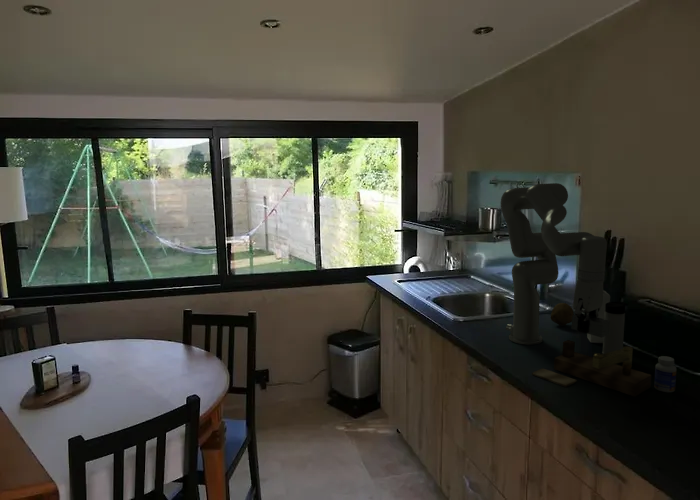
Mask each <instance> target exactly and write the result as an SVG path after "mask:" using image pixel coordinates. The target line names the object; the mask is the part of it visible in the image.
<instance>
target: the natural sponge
mask: <svg viewBox="0 0 700 500" xmlns="http://www.w3.org/2000/svg"><path fill="white" fill-rule="evenodd" d="M574 312H575V311H574V309H573V307H572V306H570V304H568V303H566V302H559V303H557V304H555V306H554V307H553V308H552V311H551V314H550V319H551V321H552V322H553V323H555V324H557V325H558V326H561V327H564V326H566V325H567V324H569V323H570V324H571V323H572V316H573V315H575V313H574Z"/></svg>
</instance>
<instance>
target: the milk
mask: <svg viewBox="0 0 700 500" xmlns="http://www.w3.org/2000/svg"><path fill="white" fill-rule="evenodd" d="M609 302H611V295H610V294H609V293H608V292H607V291H606V290H604V289H603V303H602V306H601V307H600V310H599V312H598V318H601V319H604V317H605V305H606V303H609ZM586 335H587V336H586V337H587V340H588V341H589V342H590V343H591V344H592V343H594V344H603V337H602V338H601V337H598V336H594V335H591V334H588V333H586Z"/></svg>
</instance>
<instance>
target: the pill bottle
mask: <svg viewBox="0 0 700 500" xmlns="http://www.w3.org/2000/svg"><path fill="white" fill-rule="evenodd" d="M657 361H658V362H657V363H656V364H655V370H654V385H653V386H654V388H655V390H658V391H659V392H662V393H673V392H675V391H676V383H677V382H676V381H677V372H678V371H677V369H678V368H677V367H676V366H675V359H674V357H670V356H666V355H665V356H664V355H661V356H659V357H658V360H657Z"/></svg>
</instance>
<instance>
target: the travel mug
mask: <svg viewBox="0 0 700 500" xmlns="http://www.w3.org/2000/svg"><path fill="white" fill-rule="evenodd" d="M627 305H628V304H627V303H626V302H625V301H610V302H609V303H606V305H605V317H604V319H605V320H609V321H610V329H609V335H606V336H604V337H603V343H602V352H601V354H605V353H609V352H613V351H616V350H620V349H624V336H625V332H624V331H625V323H626V322H625V320H626V306H627Z"/></svg>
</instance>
